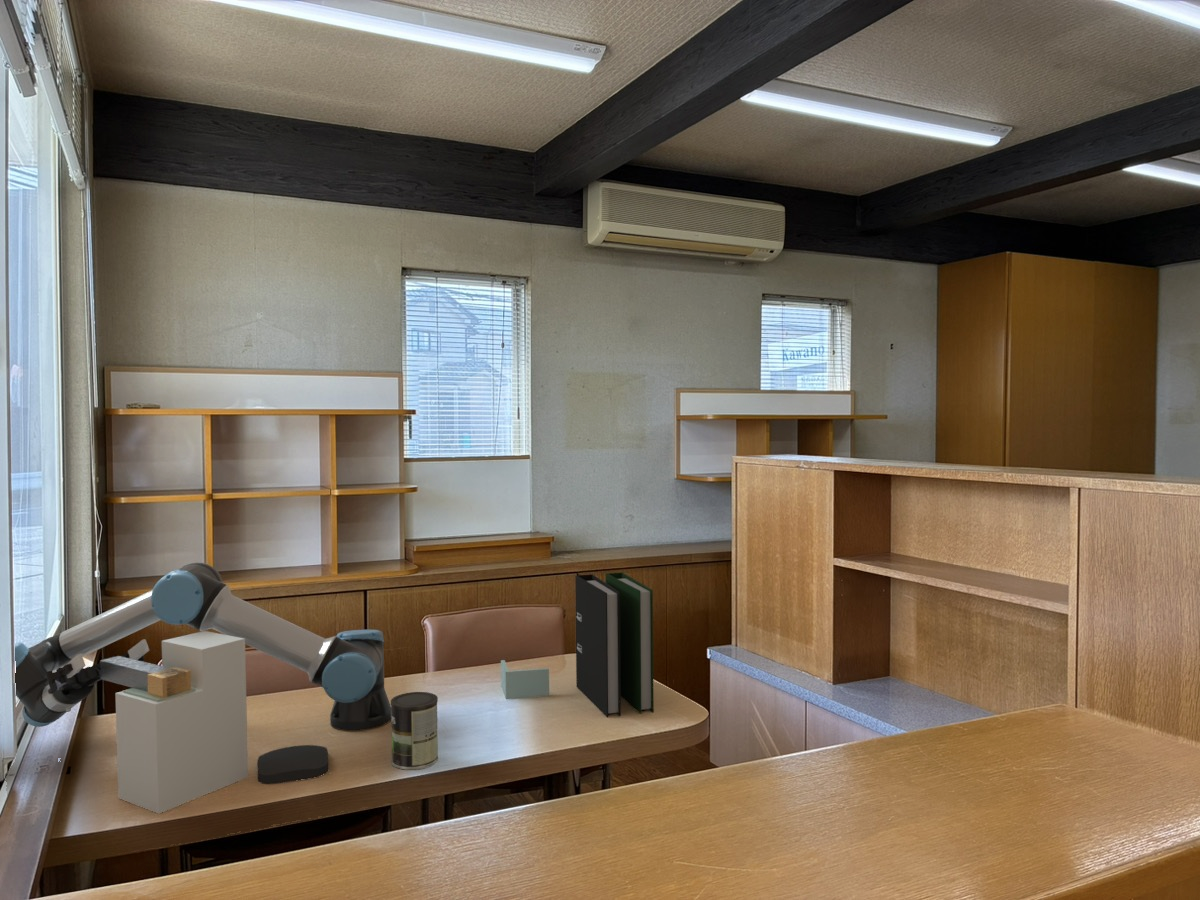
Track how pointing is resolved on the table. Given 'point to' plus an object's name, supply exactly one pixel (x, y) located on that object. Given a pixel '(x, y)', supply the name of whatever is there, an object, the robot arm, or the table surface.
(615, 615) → the dark upright rectangular slabs
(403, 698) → the coffee can
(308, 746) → the media streaming box
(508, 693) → the right angle wall
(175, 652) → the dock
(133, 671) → the grey rectangular bar
